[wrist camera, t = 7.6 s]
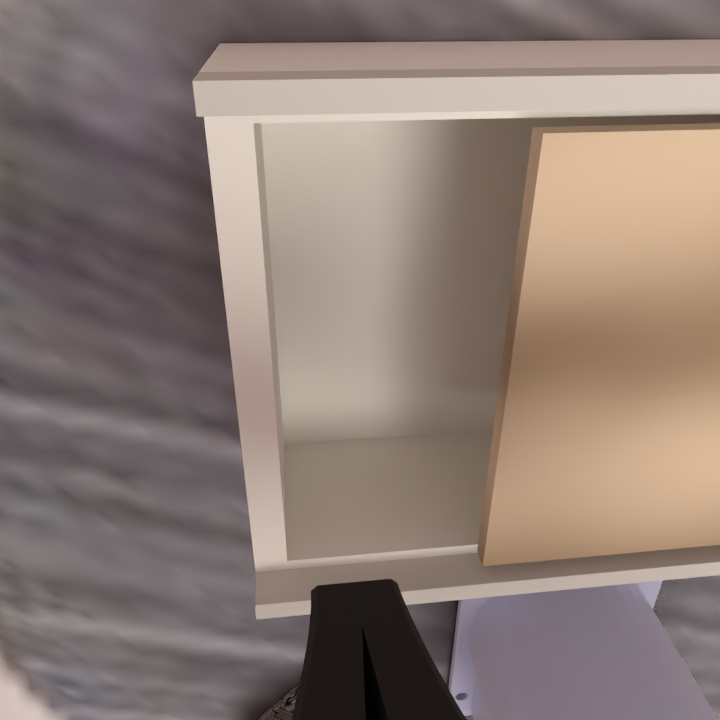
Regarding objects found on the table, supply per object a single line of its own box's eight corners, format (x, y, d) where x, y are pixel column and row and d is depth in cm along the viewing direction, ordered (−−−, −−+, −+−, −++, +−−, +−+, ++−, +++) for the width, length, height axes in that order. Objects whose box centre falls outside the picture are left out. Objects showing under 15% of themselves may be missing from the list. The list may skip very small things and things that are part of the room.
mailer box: (675, 430, 22) (796, 567, 17) (260, 460, 21) (256, 619, 16) (795, 38, 16) (1040, 69, 11) (220, 43, 15) (192, 80, 10)
